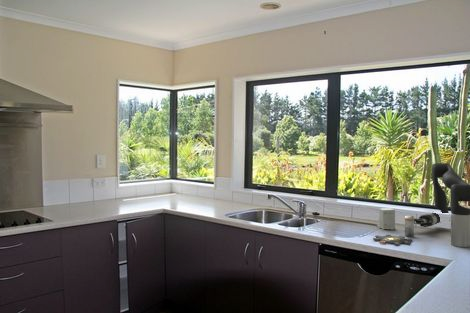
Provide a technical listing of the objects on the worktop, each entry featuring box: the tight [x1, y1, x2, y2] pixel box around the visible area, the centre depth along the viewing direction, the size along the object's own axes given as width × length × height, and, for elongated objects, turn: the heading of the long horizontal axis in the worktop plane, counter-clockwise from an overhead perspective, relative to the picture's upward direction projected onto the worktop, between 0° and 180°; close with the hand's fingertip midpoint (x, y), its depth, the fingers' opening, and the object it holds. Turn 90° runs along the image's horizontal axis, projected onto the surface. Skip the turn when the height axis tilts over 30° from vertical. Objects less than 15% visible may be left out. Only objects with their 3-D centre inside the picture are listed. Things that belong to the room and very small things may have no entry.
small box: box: [378, 207, 396, 230], centre depth 252 cm, size 8×6×13 cm
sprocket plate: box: [372, 234, 414, 247], centre depth 221 cm, size 21×21×2 cm
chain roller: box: [404, 215, 415, 238], centre depth 231 cm, size 5×5×12 cm
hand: (414, 223), depth 234 cm, fingers open, 8 cm apart
